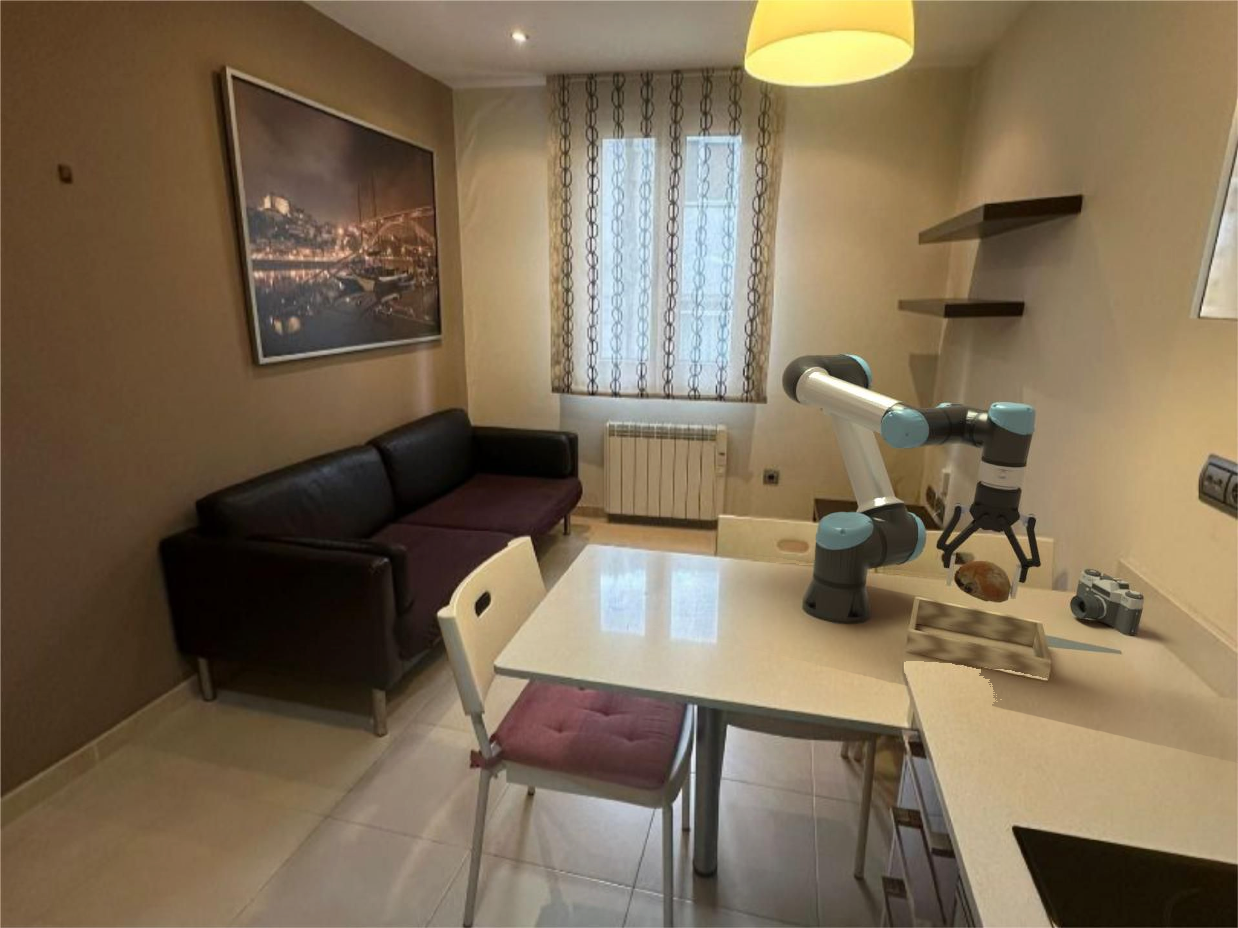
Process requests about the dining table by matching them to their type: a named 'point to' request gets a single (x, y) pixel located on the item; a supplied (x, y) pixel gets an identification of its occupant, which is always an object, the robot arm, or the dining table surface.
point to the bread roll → (983, 581)
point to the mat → (1077, 645)
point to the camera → (1107, 601)
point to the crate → (978, 625)
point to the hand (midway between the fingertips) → (980, 589)
